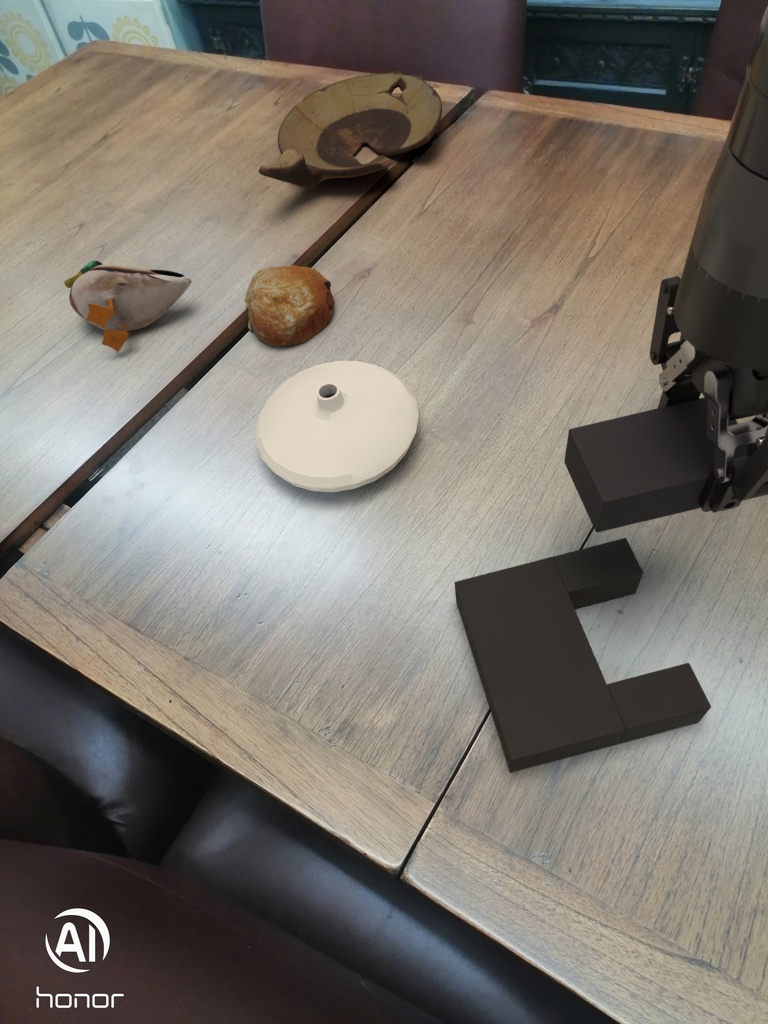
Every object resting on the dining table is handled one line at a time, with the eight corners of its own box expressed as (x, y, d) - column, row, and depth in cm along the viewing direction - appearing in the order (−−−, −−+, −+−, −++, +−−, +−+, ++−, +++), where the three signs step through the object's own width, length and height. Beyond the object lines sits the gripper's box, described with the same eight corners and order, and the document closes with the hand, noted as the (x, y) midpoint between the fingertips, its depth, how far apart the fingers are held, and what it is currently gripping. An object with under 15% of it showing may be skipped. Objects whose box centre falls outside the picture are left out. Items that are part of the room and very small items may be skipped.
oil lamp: (481, 147, 94) (480, 88, 88) (291, 241, 88) (276, 184, 81) (391, 91, 106) (385, 35, 99) (218, 170, 99) (200, 115, 93)
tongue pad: (704, 428, 48) (718, 393, 45) (747, 497, 44) (765, 463, 41) (563, 462, 47) (568, 428, 45) (595, 533, 44) (603, 502, 41)
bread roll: (259, 329, 84) (214, 292, 78) (318, 268, 83) (278, 225, 76) (293, 376, 79) (248, 341, 73) (357, 312, 77) (317, 270, 71)
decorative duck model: (48, 247, 82) (167, 206, 83) (81, 301, 88) (193, 262, 89) (45, 314, 73) (180, 267, 73) (83, 369, 79) (208, 325, 79)
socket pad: (619, 559, 57) (626, 537, 54) (699, 722, 49) (712, 707, 46) (455, 601, 57) (454, 581, 54) (509, 772, 49) (511, 760, 46)
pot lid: (319, 365, 75) (305, 313, 69) (449, 410, 69) (446, 358, 63) (232, 471, 68) (208, 424, 62) (367, 531, 62) (355, 485, 56)
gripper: (966, 323, 28) (805, 542, 41) (778, 144, 36) (697, 376, 50) (783, 366, 27) (684, 571, 41) (637, 176, 36) (595, 400, 49)
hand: (691, 464), depth 45 cm, fingers closed on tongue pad, 6 cm apart
